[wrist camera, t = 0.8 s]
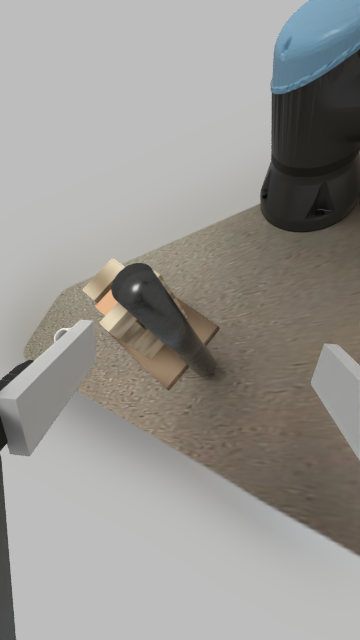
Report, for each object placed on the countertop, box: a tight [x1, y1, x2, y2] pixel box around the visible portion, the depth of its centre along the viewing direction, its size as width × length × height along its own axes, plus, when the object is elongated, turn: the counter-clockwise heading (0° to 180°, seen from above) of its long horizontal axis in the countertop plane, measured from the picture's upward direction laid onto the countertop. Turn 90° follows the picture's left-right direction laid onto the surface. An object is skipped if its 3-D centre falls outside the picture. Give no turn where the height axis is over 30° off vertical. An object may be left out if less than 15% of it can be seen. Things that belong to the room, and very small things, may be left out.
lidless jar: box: [54, 328, 71, 342], centre depth 46 cm, size 5×3×5 cm
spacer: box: [95, 290, 138, 323], centre depth 35 cm, size 7×2×7 cm, turn 137°
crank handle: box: [111, 263, 216, 377], centre depth 28 cm, size 3×18×21 cm, turn 47°
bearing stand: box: [83, 258, 219, 390], centre depth 36 cm, size 12×16×13 cm
